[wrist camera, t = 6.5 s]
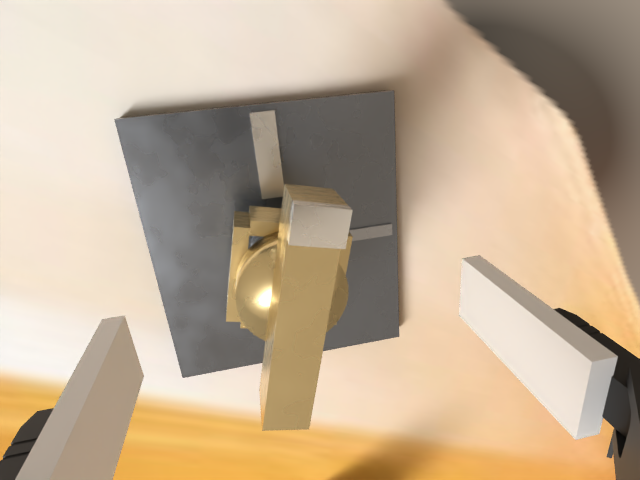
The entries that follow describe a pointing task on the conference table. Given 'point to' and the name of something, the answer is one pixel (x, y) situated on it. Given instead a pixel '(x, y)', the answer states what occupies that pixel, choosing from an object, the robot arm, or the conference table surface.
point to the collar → (290, 293)
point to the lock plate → (264, 191)
